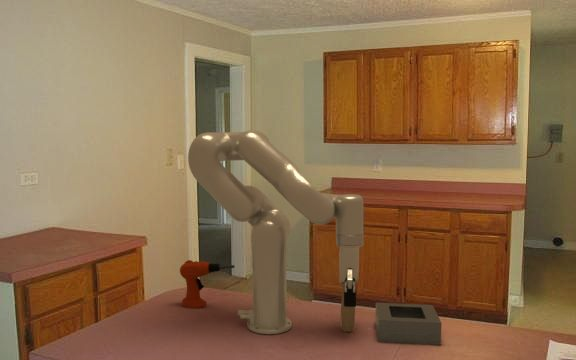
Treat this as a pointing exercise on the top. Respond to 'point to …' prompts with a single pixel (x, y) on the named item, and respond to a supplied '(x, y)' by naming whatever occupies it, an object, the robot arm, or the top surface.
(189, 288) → the toy drill
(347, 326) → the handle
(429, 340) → the socket block
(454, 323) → the top surface
